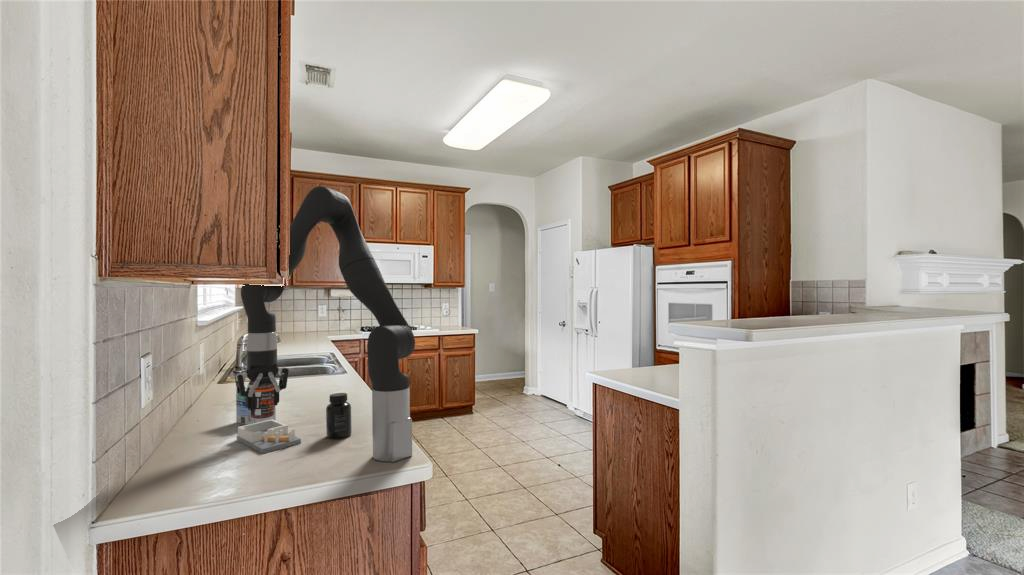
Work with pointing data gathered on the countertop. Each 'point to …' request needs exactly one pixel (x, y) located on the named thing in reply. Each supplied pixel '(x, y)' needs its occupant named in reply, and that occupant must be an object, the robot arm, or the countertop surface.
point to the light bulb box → (247, 412)
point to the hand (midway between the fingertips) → (262, 407)
